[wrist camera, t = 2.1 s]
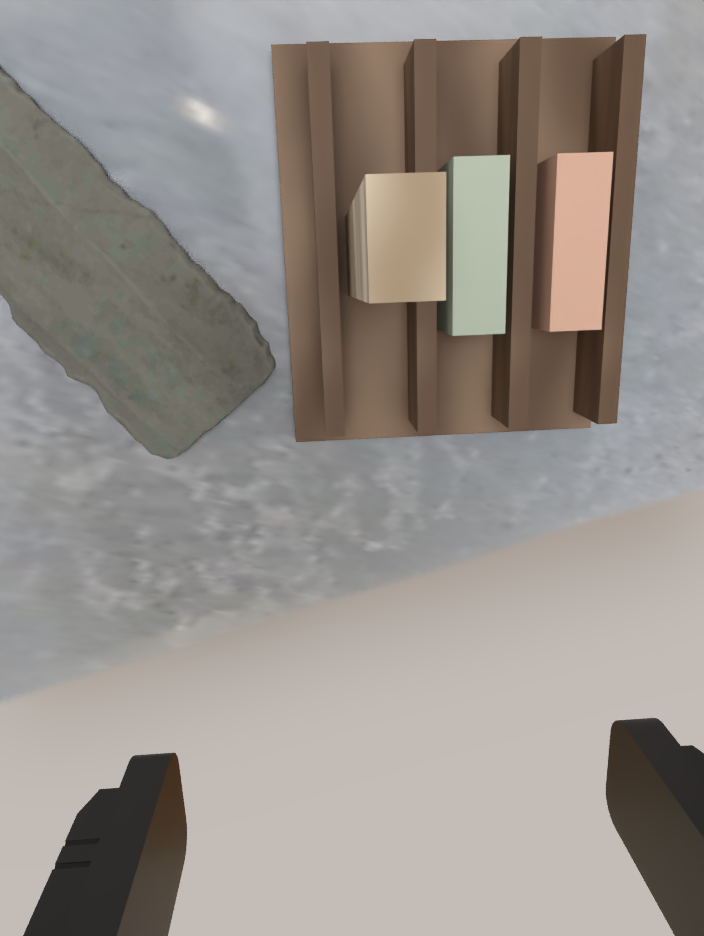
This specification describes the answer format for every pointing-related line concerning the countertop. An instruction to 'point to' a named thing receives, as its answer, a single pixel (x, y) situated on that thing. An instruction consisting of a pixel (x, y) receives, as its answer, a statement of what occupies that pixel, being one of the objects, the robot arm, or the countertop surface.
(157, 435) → the stone slab
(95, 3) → the countertop surface
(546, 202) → the terracotta offcut
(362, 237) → the tall wooden post
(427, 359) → the walnut rack
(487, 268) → the sage offcut
